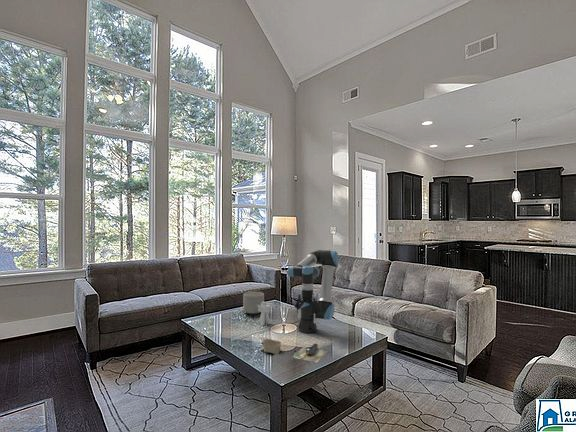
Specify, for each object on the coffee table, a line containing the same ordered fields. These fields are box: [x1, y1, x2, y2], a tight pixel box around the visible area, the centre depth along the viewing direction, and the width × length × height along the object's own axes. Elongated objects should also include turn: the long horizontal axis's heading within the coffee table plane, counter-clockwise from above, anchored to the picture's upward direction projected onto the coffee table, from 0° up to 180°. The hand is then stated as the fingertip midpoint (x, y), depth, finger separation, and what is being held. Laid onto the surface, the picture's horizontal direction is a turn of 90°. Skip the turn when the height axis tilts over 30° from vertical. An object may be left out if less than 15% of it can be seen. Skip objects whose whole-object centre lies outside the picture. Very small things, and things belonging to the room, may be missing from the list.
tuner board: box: [292, 346, 329, 364], centre depth 206 cm, size 18×19×1 cm
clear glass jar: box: [257, 301, 274, 326], centre depth 270 cm, size 12×13×18 cm
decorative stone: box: [260, 337, 282, 355], centre depth 211 cm, size 8×14×8 cm, turn 74°
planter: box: [242, 291, 265, 316], centre depth 298 cm, size 19×19×18 cm
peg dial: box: [304, 343, 319, 357], centre depth 206 cm, size 20×6×3 cm, turn 153°
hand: (307, 320), depth 217 cm, fingers open, 13 cm apart
